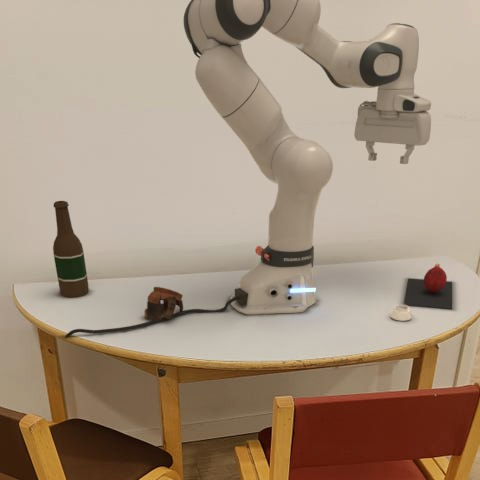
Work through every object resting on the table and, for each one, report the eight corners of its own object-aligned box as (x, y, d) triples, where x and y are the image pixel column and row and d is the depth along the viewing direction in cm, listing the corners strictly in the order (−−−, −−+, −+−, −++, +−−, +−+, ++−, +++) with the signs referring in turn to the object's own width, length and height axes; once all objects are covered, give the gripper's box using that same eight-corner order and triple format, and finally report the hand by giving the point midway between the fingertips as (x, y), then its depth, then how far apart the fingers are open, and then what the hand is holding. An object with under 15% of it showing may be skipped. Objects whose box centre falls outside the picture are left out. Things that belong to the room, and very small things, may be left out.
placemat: (452, 309, 151) (452, 308, 151) (403, 305, 154) (403, 304, 154) (451, 282, 169) (452, 281, 169) (408, 279, 172) (408, 278, 172)
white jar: (391, 313, 149) (389, 320, 145) (393, 302, 148) (390, 308, 144) (412, 315, 148) (410, 323, 144) (414, 304, 146) (411, 311, 142)
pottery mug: (136, 316, 150) (144, 284, 150) (170, 326, 155) (178, 295, 155) (154, 319, 140) (163, 285, 140) (189, 330, 145) (198, 297, 145)
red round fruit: (446, 297, 158) (451, 267, 154) (424, 297, 158) (429, 267, 154) (440, 289, 163) (445, 260, 159) (419, 289, 163) (423, 260, 159)
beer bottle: (54, 296, 163) (38, 203, 150) (71, 287, 169) (57, 197, 156) (78, 299, 160) (63, 205, 148) (95, 290, 166) (82, 199, 154)
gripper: (352, 101, 154) (347, 159, 161) (424, 104, 142) (416, 167, 149) (365, 100, 157) (360, 157, 165) (437, 102, 145) (428, 164, 153)
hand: (387, 162), depth 157 cm, fingers open, 8 cm apart
